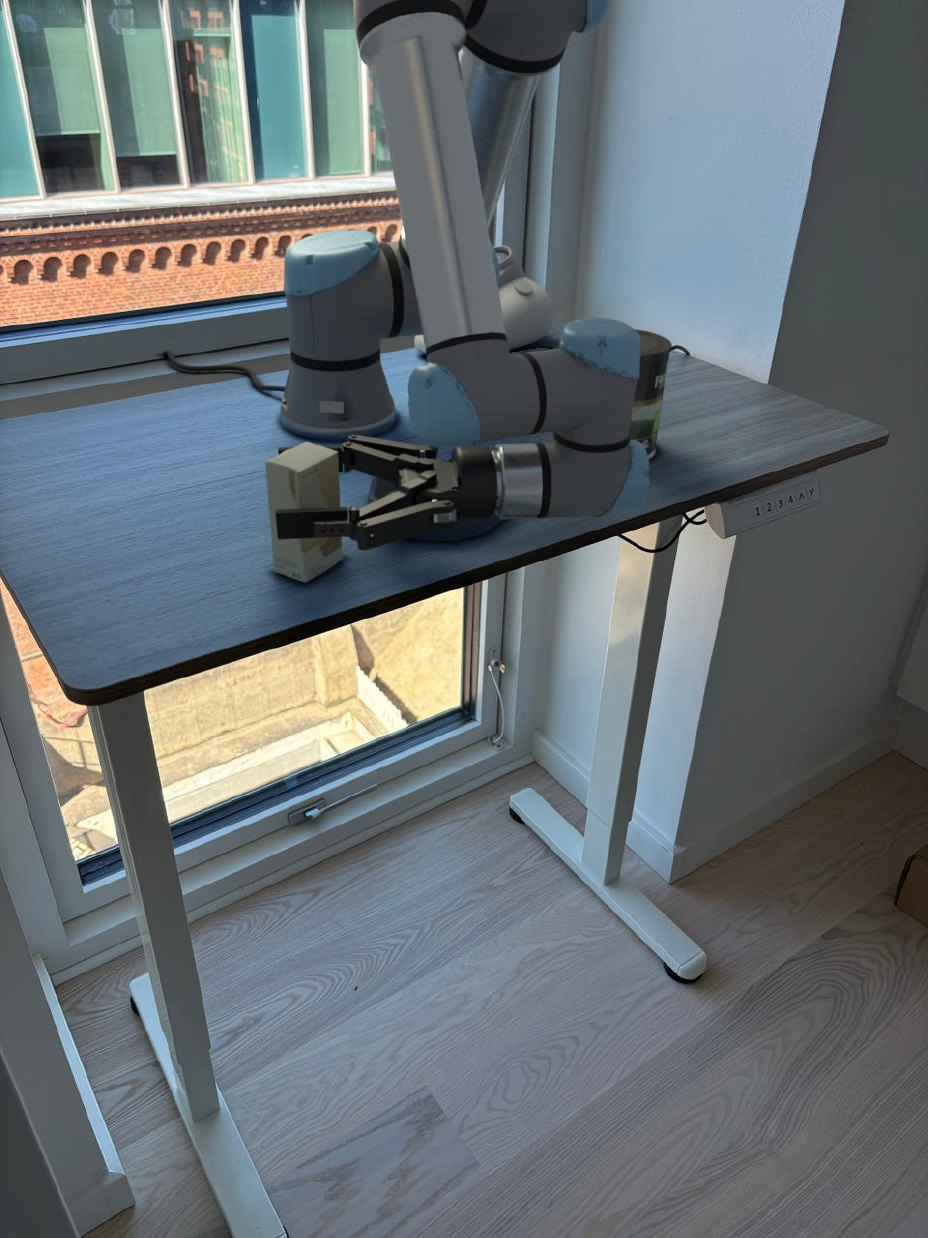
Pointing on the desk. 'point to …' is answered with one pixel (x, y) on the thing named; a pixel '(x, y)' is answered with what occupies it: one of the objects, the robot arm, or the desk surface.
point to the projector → (517, 304)
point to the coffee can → (649, 389)
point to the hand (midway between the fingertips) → (277, 490)
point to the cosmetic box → (303, 484)
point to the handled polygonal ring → (457, 532)
